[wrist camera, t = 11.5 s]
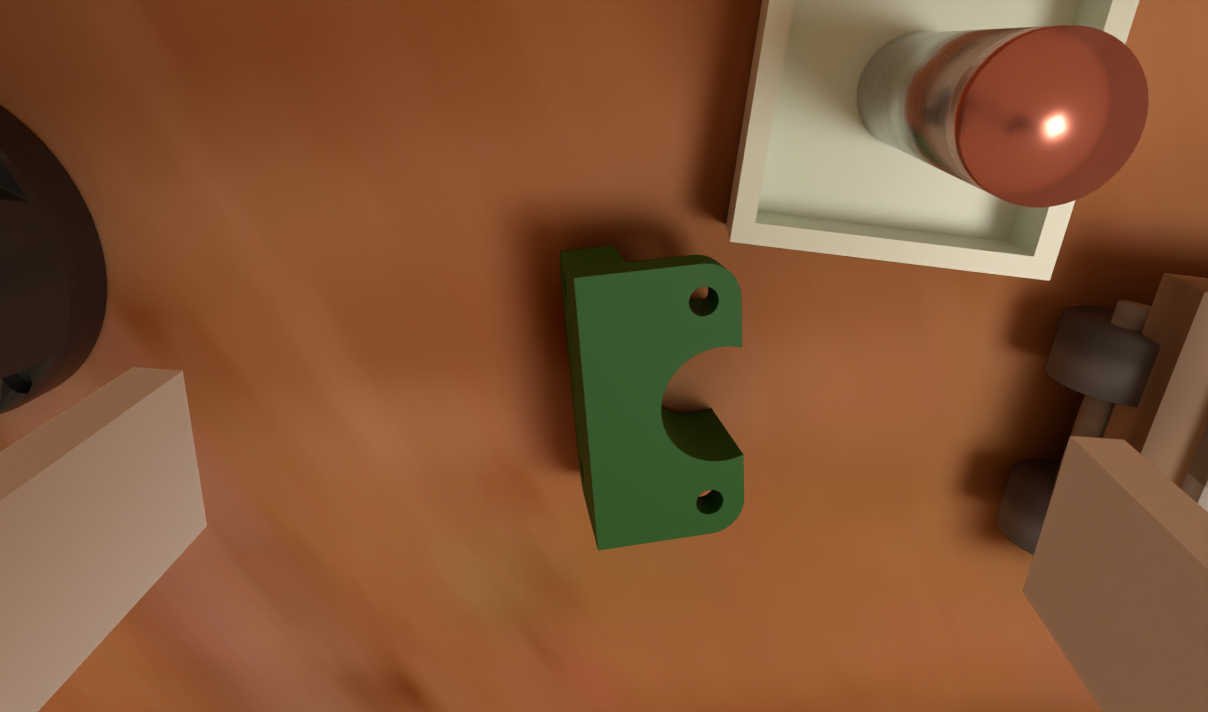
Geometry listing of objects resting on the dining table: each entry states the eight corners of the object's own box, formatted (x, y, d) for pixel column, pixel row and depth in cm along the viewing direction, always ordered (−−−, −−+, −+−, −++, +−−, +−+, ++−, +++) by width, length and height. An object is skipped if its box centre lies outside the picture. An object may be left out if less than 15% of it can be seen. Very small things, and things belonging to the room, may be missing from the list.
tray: (725, 225, 32) (729, 241, 30) (778, -101, 28) (788, -117, 25) (1017, 260, 32) (1049, 280, 29) (1116, -68, 28) (1164, -80, 25)
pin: (847, 142, 30) (944, 199, 19) (868, 28, 29) (985, 18, 18) (955, 152, 30) (1116, 215, 19) (982, 37, 29) (1173, 32, 17)
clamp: (687, 397, 40) (739, 552, 34) (568, 412, 39) (598, 574, 33) (706, 189, 32) (781, 342, 25) (556, 204, 31) (594, 365, 25)
